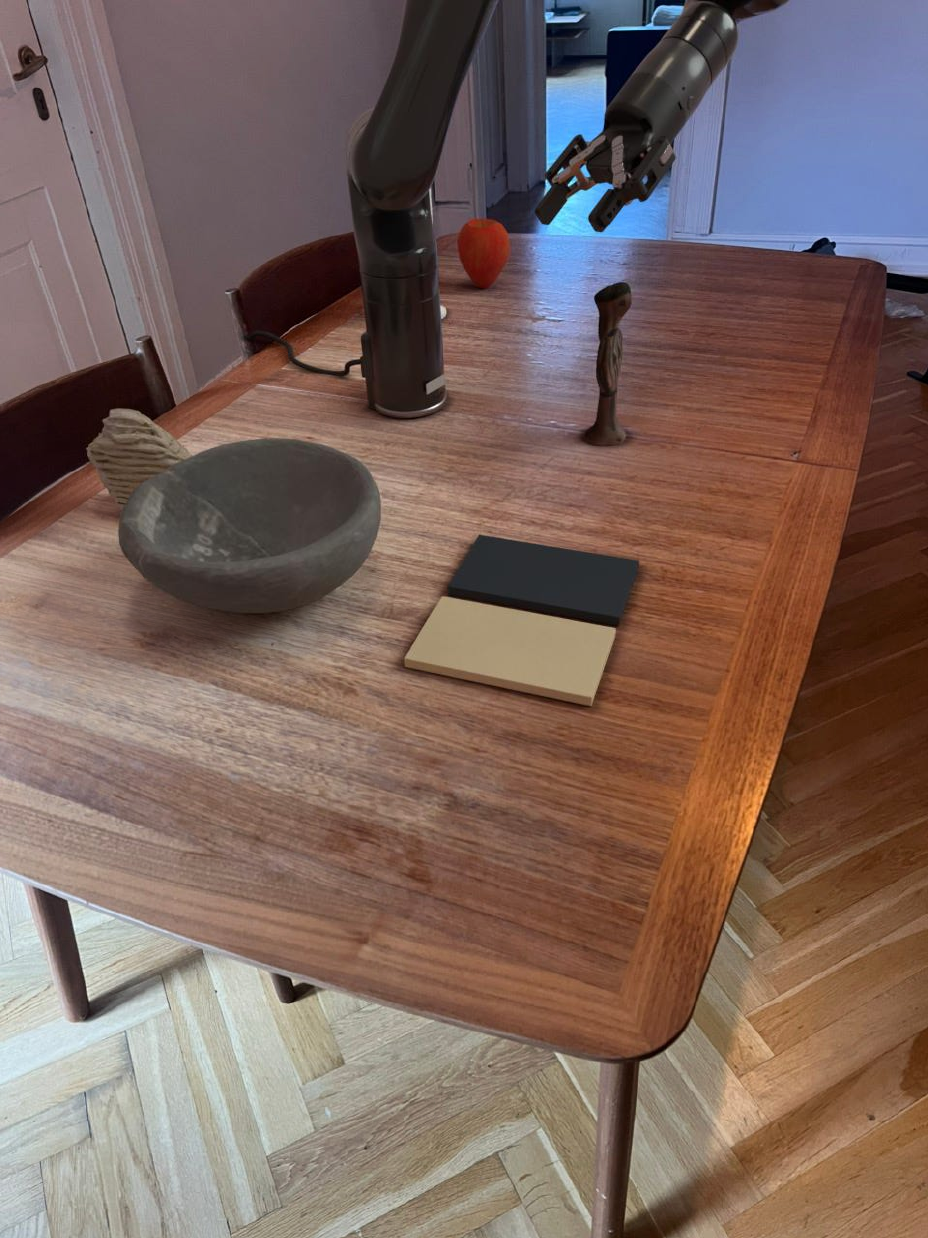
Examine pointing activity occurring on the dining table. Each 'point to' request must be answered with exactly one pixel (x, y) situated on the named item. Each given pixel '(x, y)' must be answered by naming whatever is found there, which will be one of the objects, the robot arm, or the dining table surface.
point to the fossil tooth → (132, 452)
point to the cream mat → (513, 649)
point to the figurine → (609, 363)
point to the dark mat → (546, 579)
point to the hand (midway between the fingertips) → (566, 222)
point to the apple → (483, 250)
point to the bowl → (253, 525)
